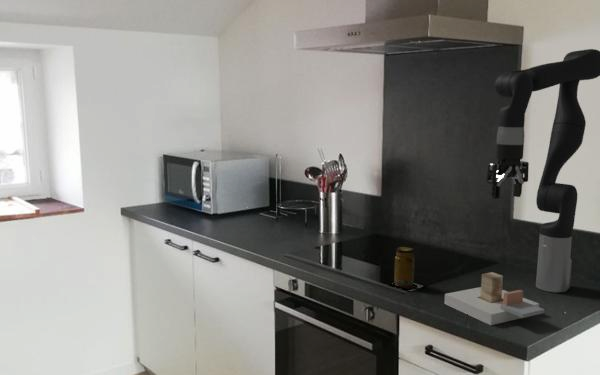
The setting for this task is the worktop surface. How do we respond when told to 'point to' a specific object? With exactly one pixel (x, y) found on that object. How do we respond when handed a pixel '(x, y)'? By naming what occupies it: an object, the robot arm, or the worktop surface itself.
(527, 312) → the brown block on tile
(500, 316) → the socket plate
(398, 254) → the condiment
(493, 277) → the peg
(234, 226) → the worktop surface
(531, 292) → the worktop surface
